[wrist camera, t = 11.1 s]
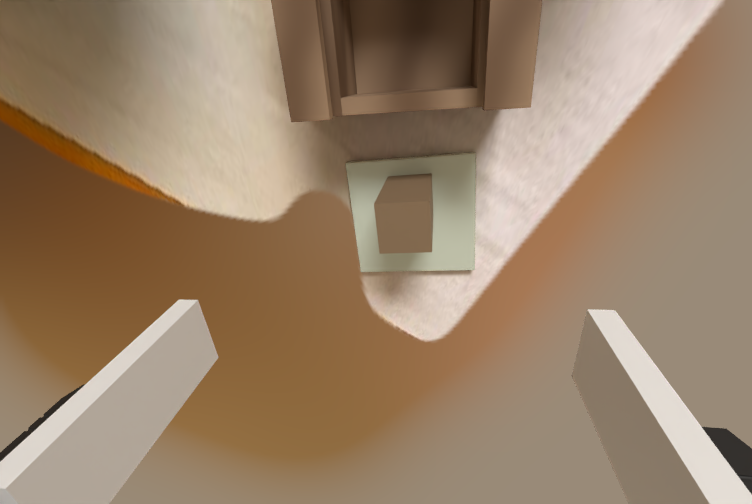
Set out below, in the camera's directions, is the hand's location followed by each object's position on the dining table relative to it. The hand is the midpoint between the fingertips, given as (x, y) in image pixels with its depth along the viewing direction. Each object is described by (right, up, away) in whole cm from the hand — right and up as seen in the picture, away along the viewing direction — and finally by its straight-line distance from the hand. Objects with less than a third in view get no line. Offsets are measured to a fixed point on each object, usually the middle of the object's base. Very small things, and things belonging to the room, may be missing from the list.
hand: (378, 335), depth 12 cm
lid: (+3, +6, +18) cm, 20 cm away
